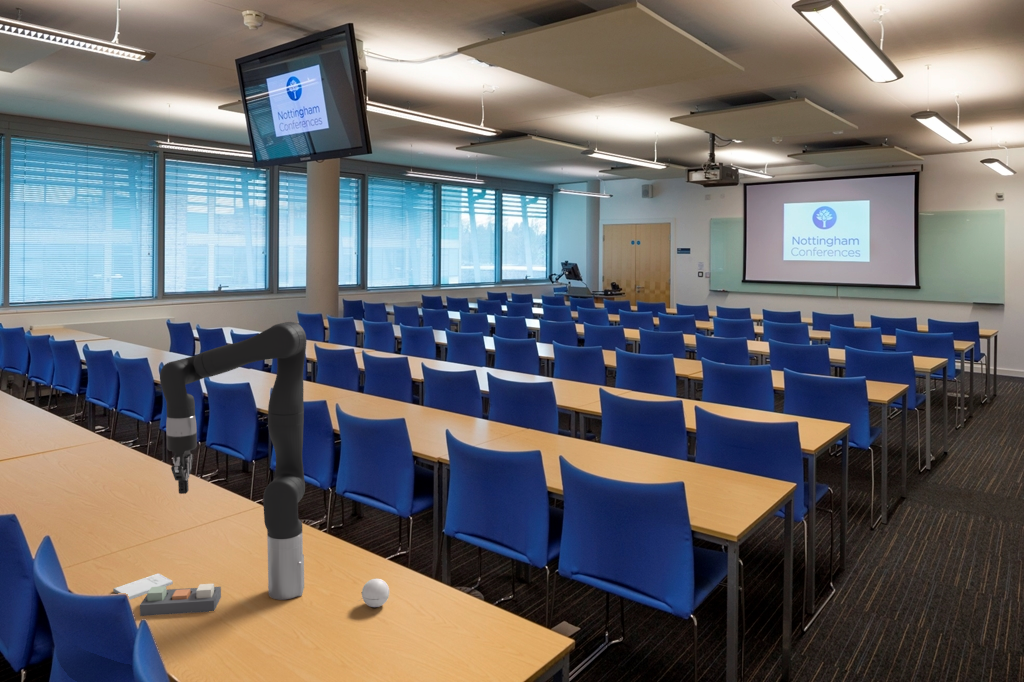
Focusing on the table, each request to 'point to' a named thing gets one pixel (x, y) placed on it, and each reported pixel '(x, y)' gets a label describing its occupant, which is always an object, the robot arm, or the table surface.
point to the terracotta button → (181, 594)
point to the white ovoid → (375, 592)
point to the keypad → (180, 604)
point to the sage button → (157, 593)
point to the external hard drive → (143, 585)
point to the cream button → (205, 591)
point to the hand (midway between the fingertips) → (183, 492)
